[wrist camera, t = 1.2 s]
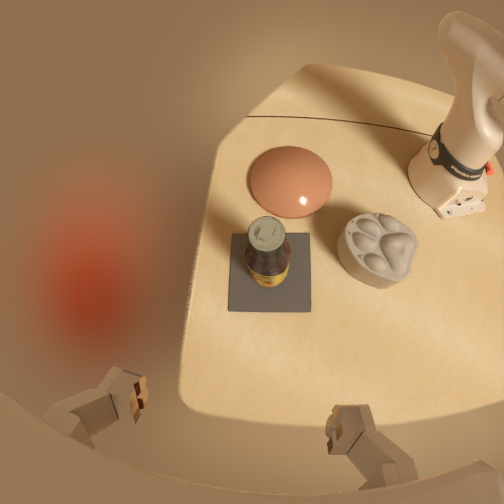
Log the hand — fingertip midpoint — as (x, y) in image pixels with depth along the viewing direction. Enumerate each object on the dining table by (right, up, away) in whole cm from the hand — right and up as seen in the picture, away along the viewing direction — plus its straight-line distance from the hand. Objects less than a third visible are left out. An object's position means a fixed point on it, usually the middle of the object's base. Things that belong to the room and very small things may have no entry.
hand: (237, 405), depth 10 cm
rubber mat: (+4, +3, +38) cm, 38 cm away
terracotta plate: (+8, +20, +43) cm, 48 cm away
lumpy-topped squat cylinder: (+22, +6, +37) cm, 44 cm away
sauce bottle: (+4, +3, +38) cm, 38 cm away
